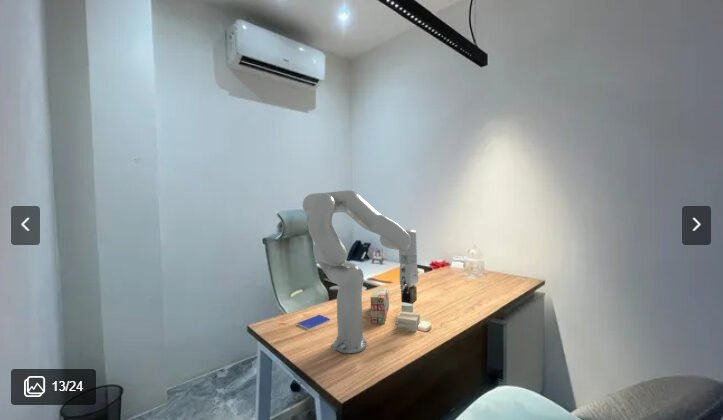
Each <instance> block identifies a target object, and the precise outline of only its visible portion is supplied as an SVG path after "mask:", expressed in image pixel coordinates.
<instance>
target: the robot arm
mask: <svg viewBox="0 0 723 420" xmlns="http://www.w3.org/2000/svg"><path fill="white" fill-rule="evenodd" d="M302 208H303V211H304V212H305V213H306V215H308V216H309V217H308V221H307V224H308V225H307V228H308V233H309V235H310V238H311V239H312V241H313V243H314V245H313V248H312V252H313V257H314V258H315V260H316V262H317V264H318V265H319V266H320V268H321V270H322V271H323V273H324V274H325V275H326V277H327V279H328V280H330V281H331V283H334V284H336V285H337V286H338V291H337V294H336V295H337V296H336V317H337V318H336V320H337V321H336V322H337V323H336V325H337V336H336V339H335V340H334V341H333V344H332V345H330V350H332V351H337V352H339V353H342V354H356V353H359V352H362V351H364V350H365V349H366V347H367V346H368V341H367V339H366V338H365V337H364V336H363V333H364V332H363V299H362V298H363V286H364V280H365V279H364V272H363V270H362V268H361V267H360V266H358V265H357V264H355V263H352V262H349V261H347V259H348V251H347V248H346V247H345V244H344V243H343V241H342V240H341V238H340V237H339V235H338V233H337V231H336V230H335V227H334V226H333V216H334V214H337V213H344V214H346V215H348V217H350V218H351V219H352V220H353V221H355V223H357V224H358V225H359V226H360V227H362V228H363V229H365V230H366V231H368V232H371V233H374V234H377V235H379V242H380V245H381V246H383V247H384V248H386V249H391V250H397V251H398V260H399V261H398V262H399V285H400V287H399V288H400V291H401V290H402V295H403V302H406V303H410V293H409V287H412V286H415V287H416V284H417V283H418V282H419V269H418V255H417V254H418V253H417V252H418V250H417V232H416V230H415V229H411V228H410V229H409V228H405V229H404V228H403V227H402V226H401V225H399V224H398V223H397V222H395V221H394V220H392V219H390V218H388V216H385V215H384V214H382V213H380V212H379V211H377V210H376V209H375V208H374V207H373V206H372V205H371V204H370V203H369V202H367V201H366V200H365V199H364V198H363V197H362V196H361V195H360V194H358V193H357V192H356V191H353V190H338V191H332V192H331V191H329V192H316V193H309V194H308V195H306V196H305V197H304V199H303V201H302ZM405 285H407V286H405ZM405 287H407V289H406V288H405Z"/></svg>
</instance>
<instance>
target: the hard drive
mask: <svg viewBox="0 0 723 420" xmlns="http://www.w3.org/2000/svg"><path fill="white" fill-rule="evenodd" d="M330 321H331V318H329V317H326V316H324V315H321V314H318V315H315V316H312V317H309V318H307V319H305V320H302V321H299V322H298V323H297V326H299V327H301V328H303V329H306V330H307V331H310V330H312V329H314V328H315V329H316V328H318V327H319V326H323V325H324V324H326V323H329V322H330Z"/></svg>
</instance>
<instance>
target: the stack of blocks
mask: <svg viewBox="0 0 723 420" xmlns="http://www.w3.org/2000/svg"><path fill="white" fill-rule="evenodd" d="M389 296H390V294H389V289H388V288H374V289H373V291H372V294H371V295H370V323H371V324H377V325H385V324H386V321H387V317H388V312H389V308H390V297H389Z"/></svg>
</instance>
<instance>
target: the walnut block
mask: <svg viewBox="0 0 723 420" xmlns="http://www.w3.org/2000/svg"><path fill="white" fill-rule="evenodd" d="M405 286H407V284H405ZM405 288H406V289H407V287H405ZM400 292H401V293H400V294H401V299H400V300H401V303H402V302H403V295H402V290H401V289H400ZM409 293H410V303H409V304H413V305H414V304H415V302H417V300H418V297H417V296H418V295H417V293H418V291H417V286H416V285H415V286H412V287H409ZM404 303H406V302H404Z"/></svg>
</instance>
